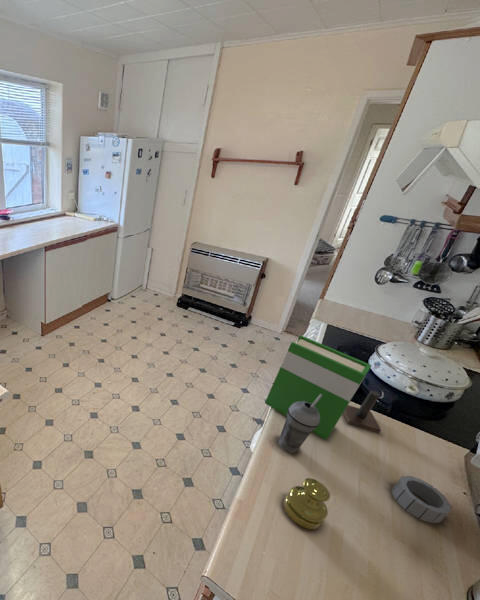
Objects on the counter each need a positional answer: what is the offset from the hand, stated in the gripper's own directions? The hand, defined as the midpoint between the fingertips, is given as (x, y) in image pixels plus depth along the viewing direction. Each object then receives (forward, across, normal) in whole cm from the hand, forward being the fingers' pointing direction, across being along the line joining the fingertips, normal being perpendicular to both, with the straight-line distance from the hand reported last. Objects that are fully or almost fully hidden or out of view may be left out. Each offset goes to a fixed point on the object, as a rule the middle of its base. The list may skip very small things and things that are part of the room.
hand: (478, 452), depth 66 cm
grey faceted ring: (+22, +2, +1) cm, 22 cm away
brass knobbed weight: (+22, -24, +17) cm, 37 cm away
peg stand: (+22, +24, +18) cm, 37 cm away
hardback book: (+22, +9, +30) cm, 38 cm away
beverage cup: (+22, -7, +27) cm, 35 cm away
